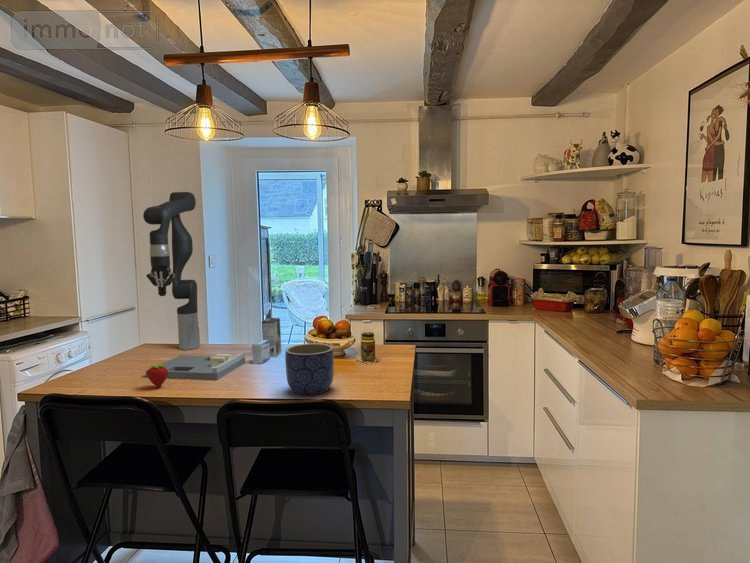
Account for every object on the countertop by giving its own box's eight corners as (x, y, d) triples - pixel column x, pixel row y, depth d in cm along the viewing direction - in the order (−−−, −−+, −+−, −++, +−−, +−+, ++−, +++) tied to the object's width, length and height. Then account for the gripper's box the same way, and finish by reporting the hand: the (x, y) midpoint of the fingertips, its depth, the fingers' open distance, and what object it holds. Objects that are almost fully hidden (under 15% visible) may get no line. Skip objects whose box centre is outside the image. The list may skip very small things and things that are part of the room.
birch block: (217, 362, 198) (217, 354, 198) (231, 362, 197) (231, 354, 197) (210, 366, 192) (209, 357, 192) (224, 367, 191) (223, 358, 191)
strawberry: (153, 384, 179) (152, 357, 178) (172, 385, 177) (171, 358, 176) (143, 389, 173) (142, 362, 172) (163, 390, 172) (161, 362, 171)
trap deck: (181, 360, 212) (180, 350, 211) (245, 362, 206) (244, 352, 206) (145, 377, 188) (145, 365, 188) (217, 379, 183) (216, 368, 182)
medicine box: (262, 364, 204) (261, 344, 203) (252, 364, 205) (251, 343, 204) (270, 359, 212) (269, 340, 211) (260, 359, 212) (259, 339, 212)
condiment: (365, 364, 201) (365, 335, 200) (354, 360, 208) (354, 332, 207) (380, 361, 205) (379, 333, 204) (369, 357, 212) (368, 330, 211)
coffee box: (267, 352, 225) (266, 317, 223) (281, 352, 224) (280, 317, 223) (262, 357, 215) (261, 321, 214) (277, 357, 215) (275, 321, 214)
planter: (344, 389, 170) (343, 347, 168) (308, 401, 157) (306, 357, 156) (313, 380, 181) (311, 340, 179) (276, 391, 168) (275, 349, 167)
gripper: (179, 254, 207) (181, 294, 209) (151, 254, 210) (154, 294, 212) (168, 255, 200) (171, 297, 202) (140, 255, 203) (142, 297, 204)
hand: (162, 295), depth 207 cm, fingers closed
